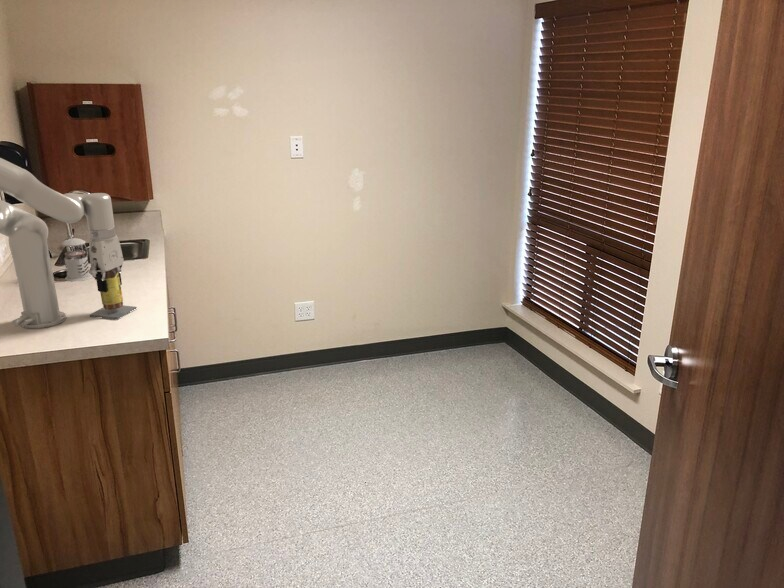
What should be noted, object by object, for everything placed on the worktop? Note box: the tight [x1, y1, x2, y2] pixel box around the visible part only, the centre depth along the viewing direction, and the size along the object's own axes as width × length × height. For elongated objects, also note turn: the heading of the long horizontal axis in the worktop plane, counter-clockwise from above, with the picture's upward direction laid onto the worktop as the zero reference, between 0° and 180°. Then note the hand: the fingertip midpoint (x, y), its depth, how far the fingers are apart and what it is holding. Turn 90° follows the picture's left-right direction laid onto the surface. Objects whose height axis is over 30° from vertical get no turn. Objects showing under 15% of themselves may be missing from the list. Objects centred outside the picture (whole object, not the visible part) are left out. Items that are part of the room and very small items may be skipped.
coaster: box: [89, 304, 138, 320], centre depth 194 cm, size 10×10×1 cm
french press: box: [61, 223, 94, 282], centre depth 224 cm, size 10×12×25 cm
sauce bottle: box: [99, 268, 124, 310], centre depth 190 cm, size 7×6×20 cm
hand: (110, 287), depth 191 cm, fingers closed on sauce bottle, 6 cm apart
